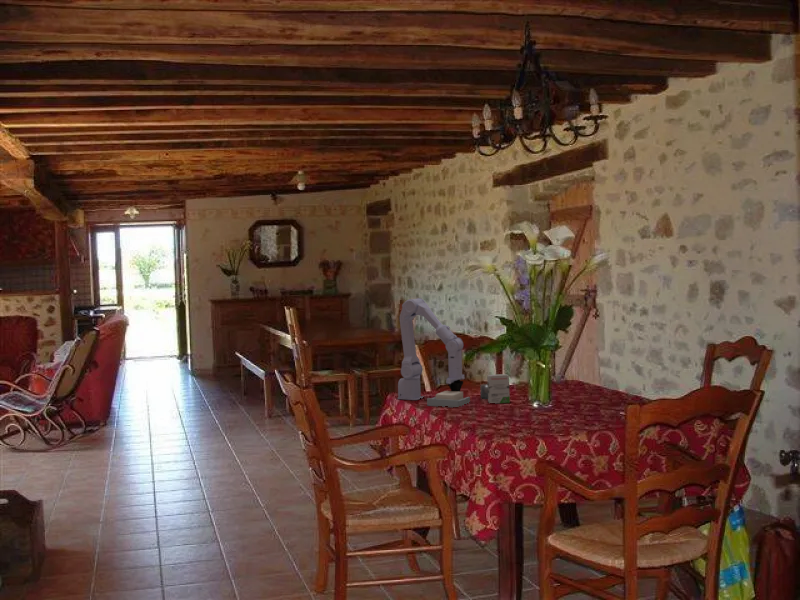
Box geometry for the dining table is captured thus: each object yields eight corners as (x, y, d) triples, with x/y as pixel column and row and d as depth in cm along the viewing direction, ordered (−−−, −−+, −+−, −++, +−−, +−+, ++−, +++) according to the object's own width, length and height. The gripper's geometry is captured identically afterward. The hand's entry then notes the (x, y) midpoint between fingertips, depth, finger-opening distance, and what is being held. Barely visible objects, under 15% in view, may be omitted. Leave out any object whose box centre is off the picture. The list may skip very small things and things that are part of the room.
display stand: (427, 405, 367) (427, 398, 367) (440, 400, 378) (440, 393, 378) (457, 407, 361) (457, 400, 361) (470, 402, 372) (469, 395, 372)
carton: (436, 406, 367) (435, 394, 367) (446, 402, 376) (445, 390, 376) (453, 407, 364) (453, 395, 363) (463, 403, 372) (463, 391, 372)
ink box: (507, 401, 374) (507, 373, 373) (510, 403, 369) (509, 375, 368) (487, 401, 373) (487, 374, 372) (489, 403, 368) (489, 375, 367)
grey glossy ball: (478, 399, 380) (478, 385, 379) (483, 397, 385) (483, 383, 384) (491, 400, 377) (491, 386, 376) (496, 398, 382) (496, 384, 382)
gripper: (456, 369, 367) (457, 401, 368) (470, 364, 380) (471, 396, 380) (441, 368, 370) (442, 400, 371) (455, 364, 383) (456, 395, 384)
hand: (455, 398), depth 376 cm, fingers closed
